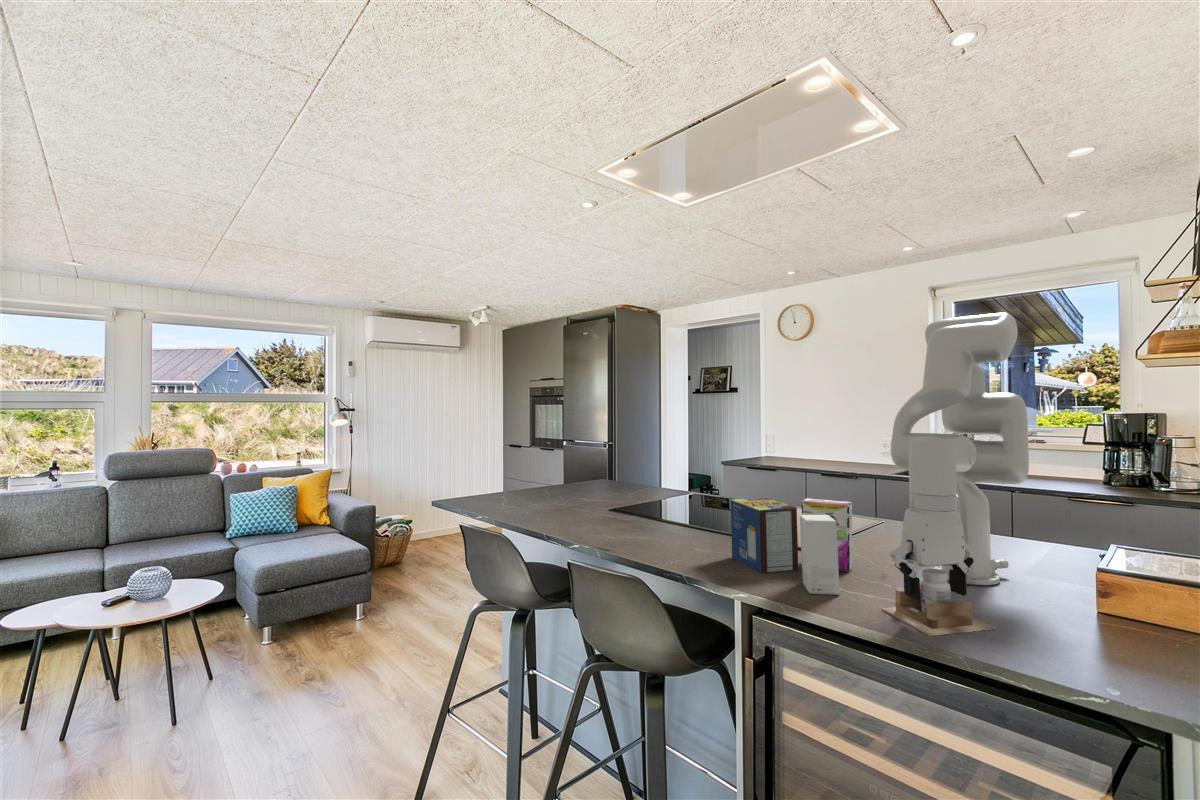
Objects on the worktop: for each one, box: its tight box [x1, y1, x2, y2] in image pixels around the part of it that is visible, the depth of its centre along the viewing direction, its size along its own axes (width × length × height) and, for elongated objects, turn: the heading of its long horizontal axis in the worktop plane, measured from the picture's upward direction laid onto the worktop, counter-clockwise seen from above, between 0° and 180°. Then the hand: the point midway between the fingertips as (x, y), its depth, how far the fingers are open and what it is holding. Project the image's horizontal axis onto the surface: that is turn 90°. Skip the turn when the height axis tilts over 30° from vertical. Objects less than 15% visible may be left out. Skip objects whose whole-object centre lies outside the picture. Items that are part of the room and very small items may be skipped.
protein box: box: [730, 497, 799, 575], centre depth 136 cm, size 10×15×16 cm
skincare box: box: [799, 514, 840, 596], centre depth 117 cm, size 8×7×16 cm
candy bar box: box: [801, 497, 854, 573], centre depth 133 cm, size 11×5×16 cm, turn 58°
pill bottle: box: [920, 567, 952, 614], centre depth 99 cm, size 5×5×8 cm
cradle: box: [881, 588, 996, 637], centre depth 99 cm, size 13×12×4 cm
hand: (935, 595), depth 99 cm, fingers open, 9 cm apart
